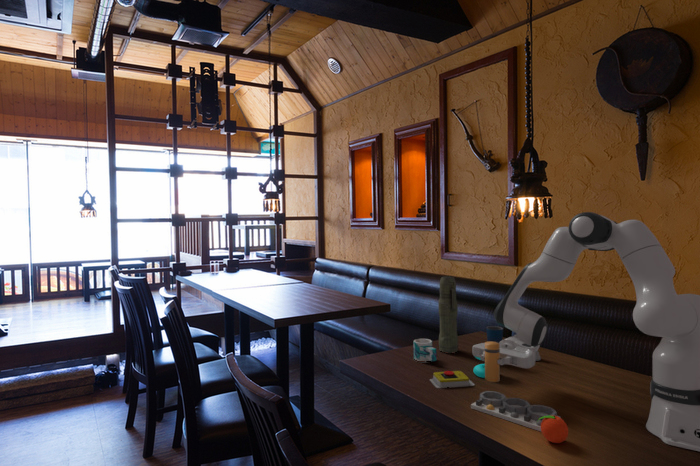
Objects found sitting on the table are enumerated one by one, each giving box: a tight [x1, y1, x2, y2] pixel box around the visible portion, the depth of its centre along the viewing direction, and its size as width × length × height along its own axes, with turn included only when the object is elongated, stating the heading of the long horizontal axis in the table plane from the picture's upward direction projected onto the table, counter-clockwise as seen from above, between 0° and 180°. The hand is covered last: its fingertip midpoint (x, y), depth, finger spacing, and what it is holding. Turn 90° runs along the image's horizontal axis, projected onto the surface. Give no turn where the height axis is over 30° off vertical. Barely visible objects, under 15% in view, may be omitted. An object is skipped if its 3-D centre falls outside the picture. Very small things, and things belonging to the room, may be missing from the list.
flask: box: [535, 349, 542, 362], centre depth 191 cm, size 7×7×10 cm
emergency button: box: [429, 370, 475, 389], centre depth 165 cm, size 9×4×15 cm
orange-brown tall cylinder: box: [484, 341, 501, 383], centre depth 144 cm, size 5×5×12 cm
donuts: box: [472, 356, 485, 379], centre depth 172 cm, size 10×10×10 cm
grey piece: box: [470, 390, 562, 433], centre depth 137 cm, size 24×11×3 cm, turn 43°
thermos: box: [437, 275, 459, 353], centre depth 205 cm, size 9×12×35 cm
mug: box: [413, 338, 437, 363], centre depth 191 cm, size 8×12×8 cm
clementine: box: [537, 415, 569, 444], centre depth 120 cm, size 8×7×7 cm
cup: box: [485, 325, 504, 343], centre depth 187 cm, size 7×7×15 cm
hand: (490, 360), depth 143 cm, fingers closed on orange-brown tall cylinder, 5 cm apart
